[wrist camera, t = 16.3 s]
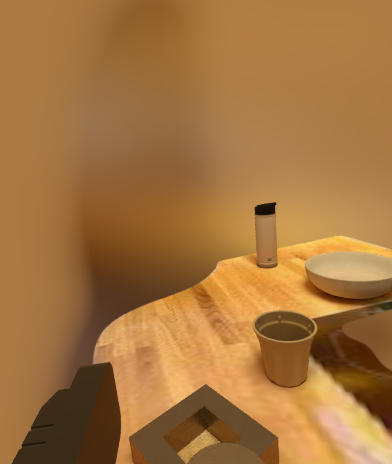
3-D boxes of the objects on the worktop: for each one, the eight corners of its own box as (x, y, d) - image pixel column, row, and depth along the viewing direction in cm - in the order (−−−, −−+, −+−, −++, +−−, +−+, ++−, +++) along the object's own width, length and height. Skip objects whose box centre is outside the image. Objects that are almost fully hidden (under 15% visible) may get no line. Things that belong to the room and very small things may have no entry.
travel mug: (275, 269, 93) (272, 204, 89) (254, 267, 96) (251, 204, 92) (280, 262, 98) (278, 201, 94) (261, 261, 102) (258, 201, 97)
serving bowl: (315, 270, 89) (314, 248, 88) (401, 280, 78) (402, 254, 76) (295, 300, 72) (294, 273, 71) (401, 318, 61) (403, 286, 59)
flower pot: (245, 363, 52) (242, 317, 50) (294, 349, 54) (293, 305, 52) (274, 403, 43) (272, 348, 41) (331, 384, 45) (331, 332, 43)
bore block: (207, 405, 43) (205, 384, 43) (279, 463, 34) (278, 437, 34) (133, 461, 36) (128, 437, 35) (198, 554, 27) (194, 524, 26)
